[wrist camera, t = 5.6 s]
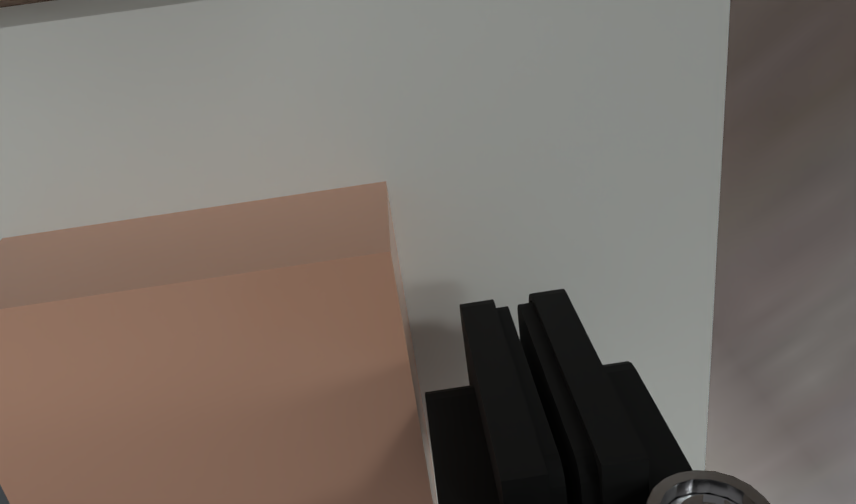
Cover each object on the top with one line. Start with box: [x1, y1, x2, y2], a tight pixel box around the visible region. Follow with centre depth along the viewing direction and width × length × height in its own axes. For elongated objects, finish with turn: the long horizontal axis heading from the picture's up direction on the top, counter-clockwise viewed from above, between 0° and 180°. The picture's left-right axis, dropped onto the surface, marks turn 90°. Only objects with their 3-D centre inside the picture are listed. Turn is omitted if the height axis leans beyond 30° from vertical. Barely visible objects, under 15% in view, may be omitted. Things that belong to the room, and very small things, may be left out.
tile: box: [0, 181, 438, 504], centre depth 12 cm, size 6×6×2 cm
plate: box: [0, 0, 730, 503], centre depth 15 cm, size 12×12×3 cm
